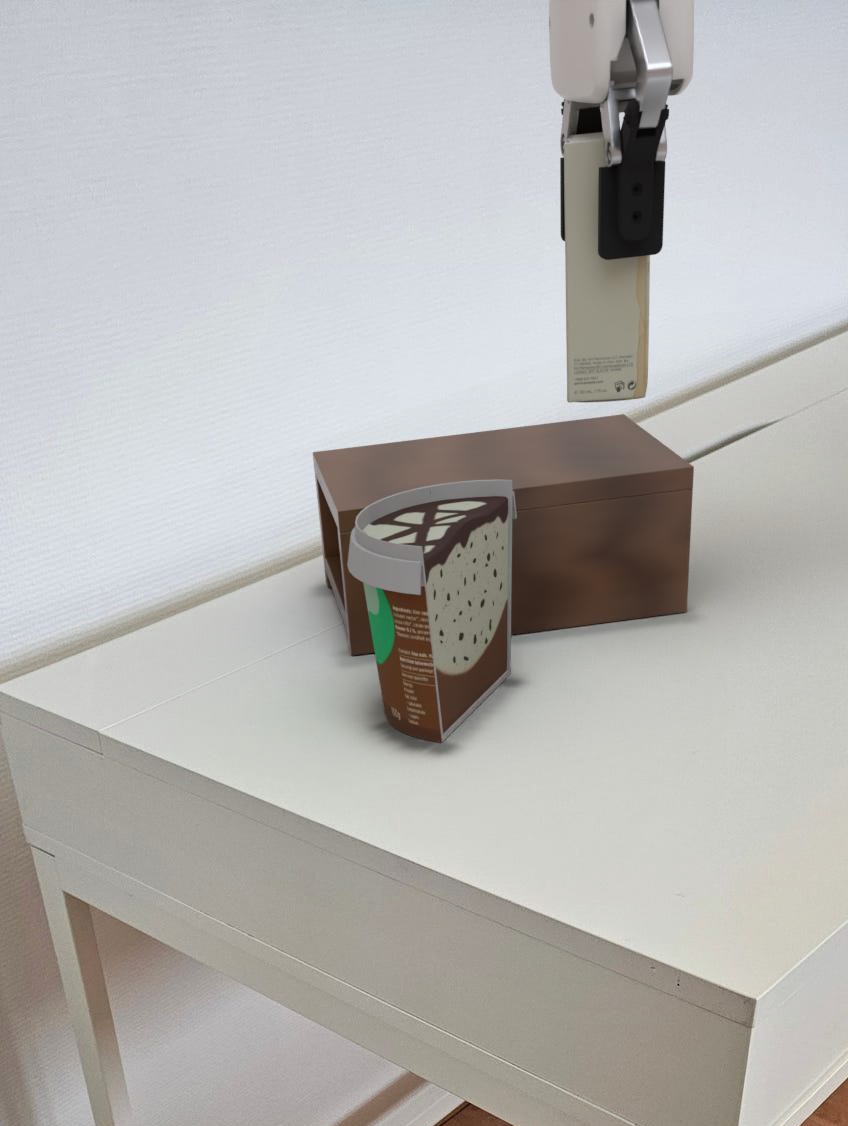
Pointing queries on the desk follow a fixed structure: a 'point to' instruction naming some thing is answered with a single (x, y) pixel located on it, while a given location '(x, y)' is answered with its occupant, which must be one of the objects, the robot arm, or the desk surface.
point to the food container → (437, 599)
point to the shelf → (536, 517)
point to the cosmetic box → (600, 291)
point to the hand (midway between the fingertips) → (609, 244)
